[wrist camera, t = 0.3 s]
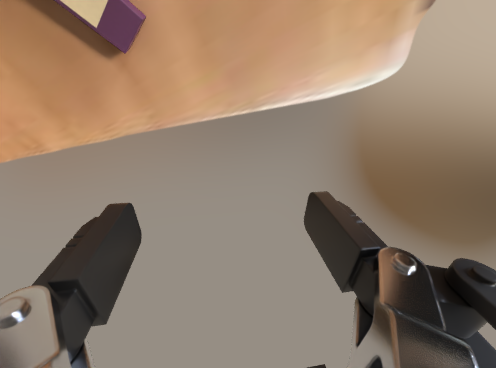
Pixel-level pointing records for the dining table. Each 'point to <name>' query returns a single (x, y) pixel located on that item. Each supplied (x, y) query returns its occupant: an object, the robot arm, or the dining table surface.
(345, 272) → the robot arm
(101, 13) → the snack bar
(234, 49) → the dining table surface
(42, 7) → the dining table surface
